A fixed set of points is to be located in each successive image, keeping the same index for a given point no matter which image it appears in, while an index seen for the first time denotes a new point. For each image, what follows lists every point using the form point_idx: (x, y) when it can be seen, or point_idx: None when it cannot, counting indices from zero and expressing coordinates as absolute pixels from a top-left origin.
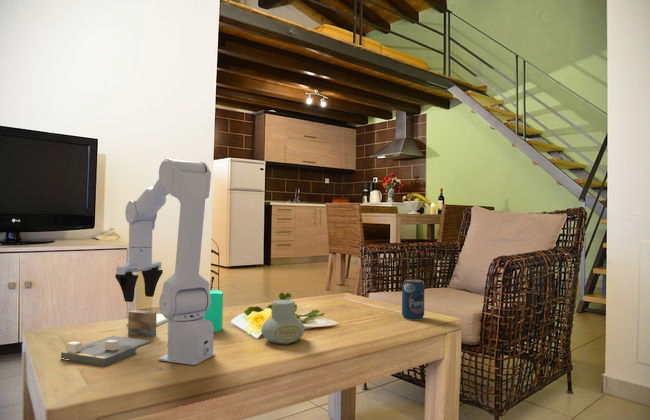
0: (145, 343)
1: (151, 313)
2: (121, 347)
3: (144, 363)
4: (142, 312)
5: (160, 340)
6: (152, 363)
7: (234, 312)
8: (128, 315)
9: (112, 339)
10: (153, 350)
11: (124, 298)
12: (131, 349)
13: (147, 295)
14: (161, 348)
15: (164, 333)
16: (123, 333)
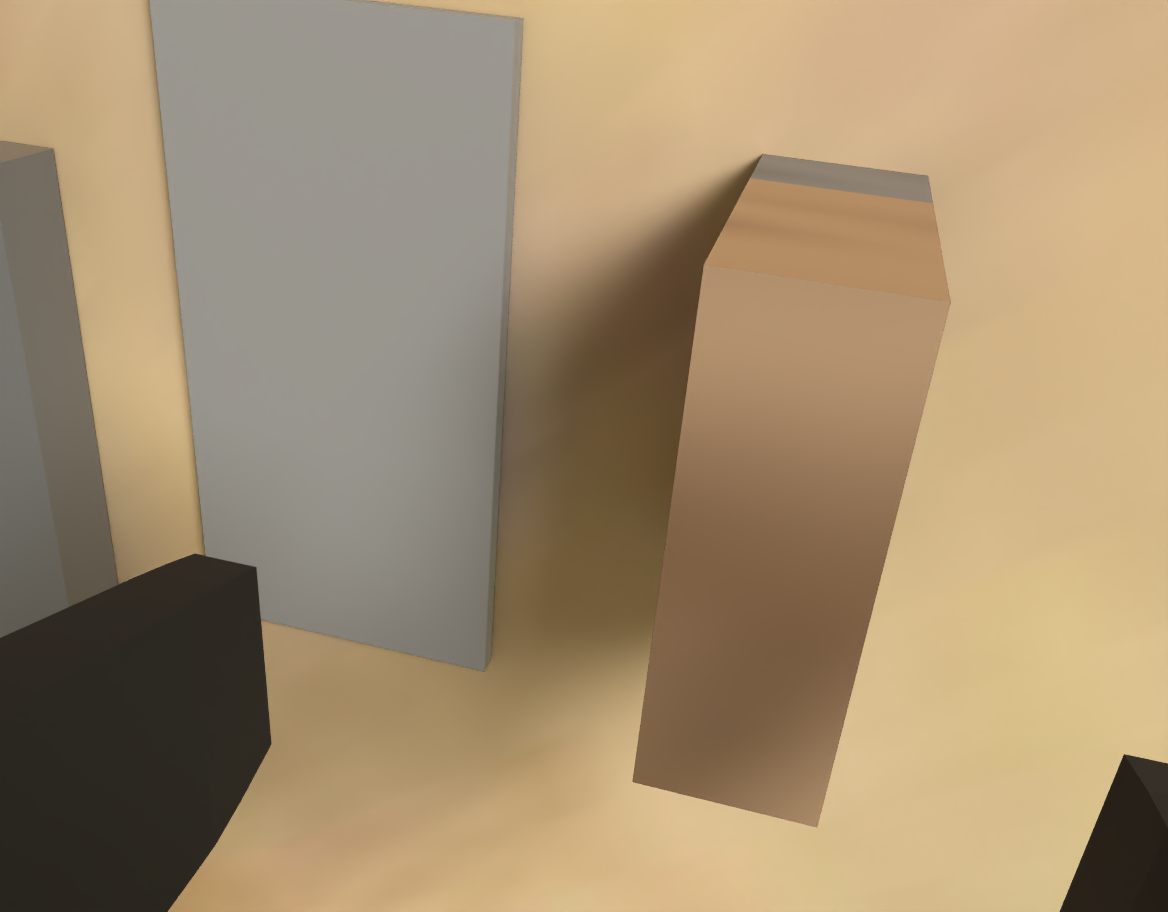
0: (399, 645)
1: (679, 786)
2: (7, 610)
3: None
4: (716, 601)
5: (593, 726)
6: None
7: None
8: (718, 241)
9: (352, 174)
10: (274, 783)
11: (125, 594)
12: None
13: (1100, 842)
14: (351, 825)
15: (923, 656)
16: (800, 32)
